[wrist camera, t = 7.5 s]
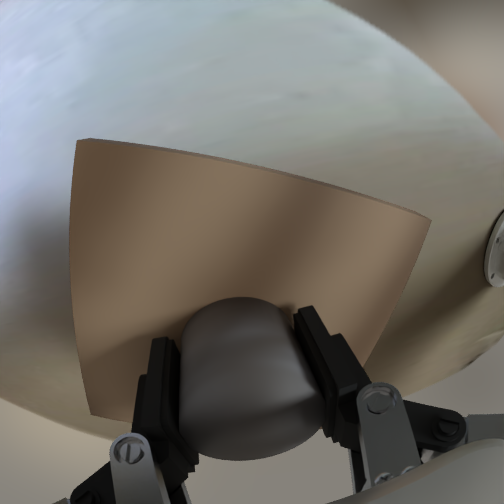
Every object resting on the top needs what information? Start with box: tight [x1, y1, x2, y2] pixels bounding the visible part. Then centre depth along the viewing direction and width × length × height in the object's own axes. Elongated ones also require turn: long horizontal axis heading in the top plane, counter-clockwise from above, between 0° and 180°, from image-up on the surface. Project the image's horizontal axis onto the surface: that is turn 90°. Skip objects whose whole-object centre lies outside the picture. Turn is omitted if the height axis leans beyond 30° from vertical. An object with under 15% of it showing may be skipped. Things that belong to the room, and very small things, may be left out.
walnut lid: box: [69, 138, 432, 461], centre depth 10 cm, size 13×13×5 cm
